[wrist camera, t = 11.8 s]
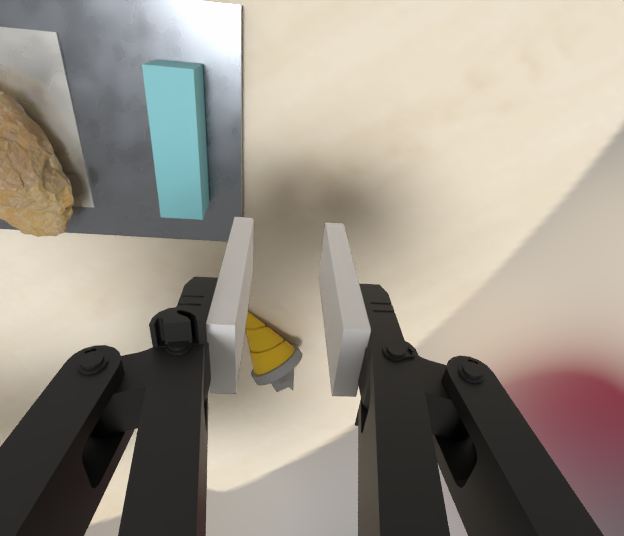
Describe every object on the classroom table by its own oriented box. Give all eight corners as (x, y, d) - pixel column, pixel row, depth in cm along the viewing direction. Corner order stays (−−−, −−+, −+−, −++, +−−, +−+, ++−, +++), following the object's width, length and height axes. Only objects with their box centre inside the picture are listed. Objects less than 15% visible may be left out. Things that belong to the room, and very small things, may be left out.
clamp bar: (171, 200, 32) (160, 217, 29) (156, 59, 26) (141, 64, 24) (209, 203, 32) (202, 219, 29) (202, 63, 26) (193, 69, 24)
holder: (-53, 219, 33) (-63, 226, 32) (-166, -40, 24) (-187, -42, 23) (242, 236, 35) (241, 243, 34) (242, 5, 26) (240, 5, 25)
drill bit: (262, 414, 39) (208, 329, 38) (282, 381, 44) (234, 305, 42) (306, 400, 37) (251, 310, 35) (322, 368, 42) (274, 287, 40)
